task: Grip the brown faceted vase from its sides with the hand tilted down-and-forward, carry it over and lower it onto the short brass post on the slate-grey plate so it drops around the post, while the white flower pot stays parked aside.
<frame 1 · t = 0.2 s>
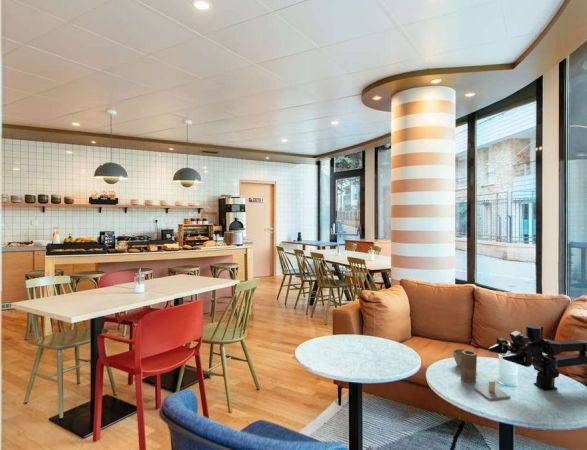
hand: (495, 353, 169), 17 cm above the table, tool horizontal, fingers open, 9 cm apart
brown faceted vase: (468, 380, 180), on the table
post stand: (491, 393, 168), on the table
flower pot: (463, 366, 195), on the table
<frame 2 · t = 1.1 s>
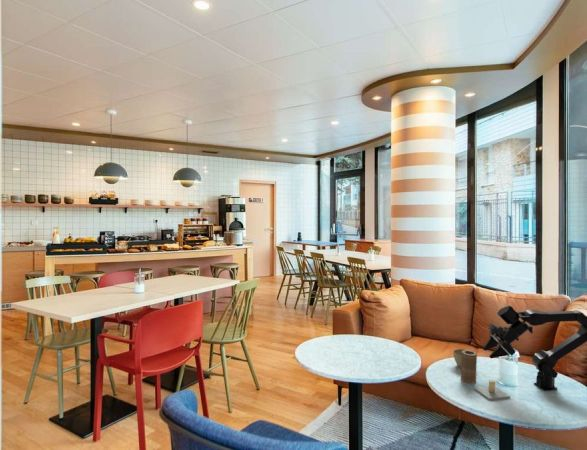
hand: (486, 353, 178), 13 cm above the table, tool tilted 45°, fingers open, 9 cm apart
nothing on the table moved.
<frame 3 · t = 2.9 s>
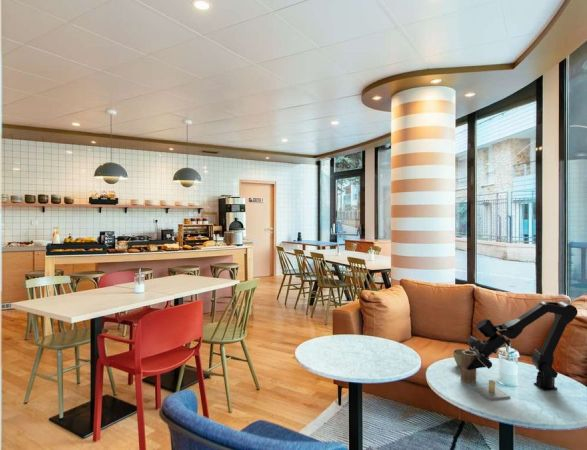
hand: (465, 366, 180), 7 cm above the table, tool tilted 45°, fingers closed on brown faceted vase, 6 cm apart
brown faceted vase: (468, 380, 180), on the table, touching gripper
everything else where it was.
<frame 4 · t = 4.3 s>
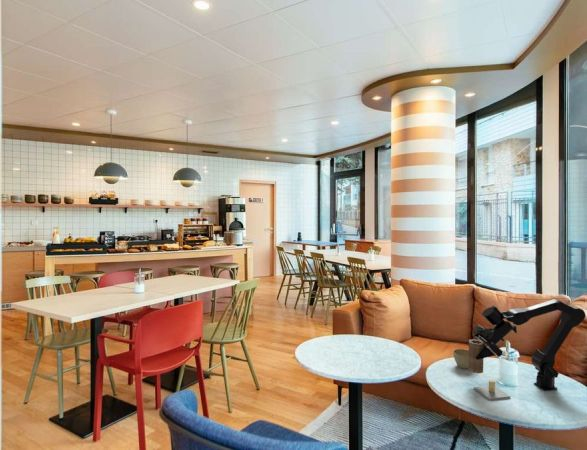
hand: (473, 355, 175), 13 cm above the table, tool tilted 45°, fingers closed on brown faceted vase, 6 cm apart
brown faceted vase: (475, 370, 176), point 7 cm above the table, touching gripper
everything else where it was.
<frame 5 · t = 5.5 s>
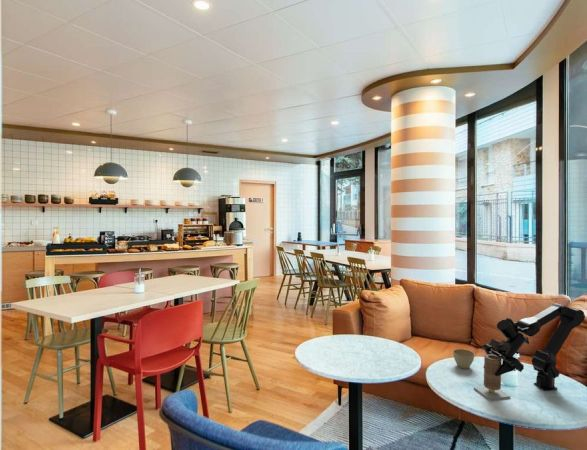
hand: (489, 372, 167), 10 cm above the table, tool tilted 45°, fingers closed on brown faceted vase, 6 cm apart
brown faceted vase: (492, 386, 168), point 3 cm above the table, touching gripper
everything else where it was.
when the fingers open (9 cm above the table, at t = 6.2 s): brown faceted vase drops 1 cm, resting on post stand.
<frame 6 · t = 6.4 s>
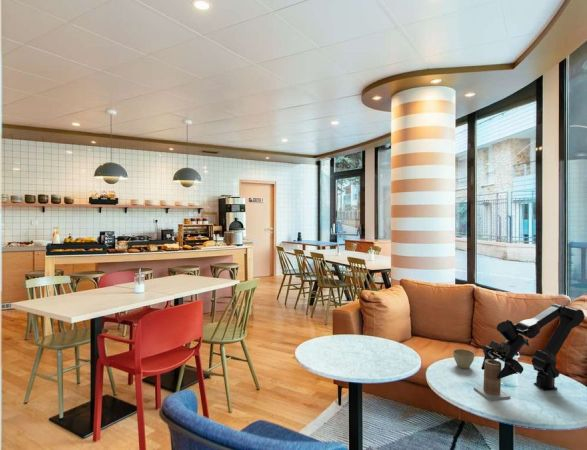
hand: (489, 373, 167), 9 cm above the table, tool tilted 45°, fingers open, 9 cm apart
brown faceted vase: (491, 391, 168), point 1 cm above the table, touching post stand
everything else where it was.
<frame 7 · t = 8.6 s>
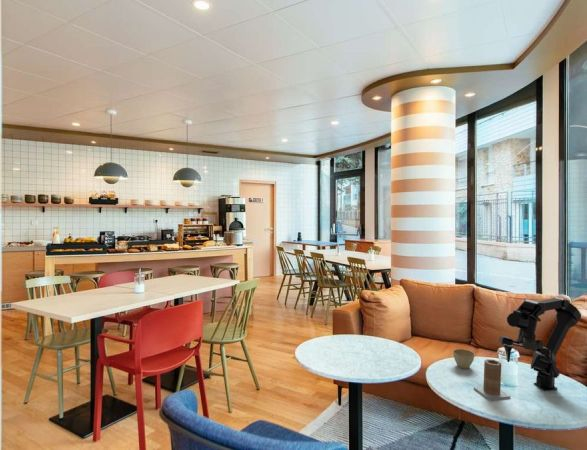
hand: (519, 365, 167), 13 cm above the table, tool pointing down, fingers open, 9 cm apart
nothing on the table moved.
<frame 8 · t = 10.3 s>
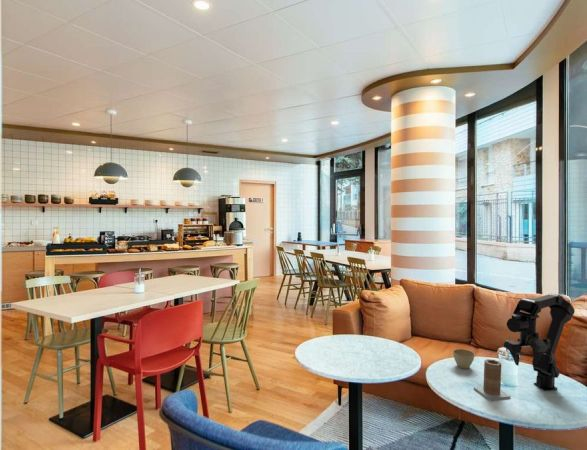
hand: (526, 364, 167), 13 cm above the table, tool pointing down, fingers open, 9 cm apart
nothing on the table moved.
at the end: brown faceted vase 0.0 cm from the post stand (horizontally); brown faceted vase point 0.8 cm above the table; brown faceted vase tilted 0° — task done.
